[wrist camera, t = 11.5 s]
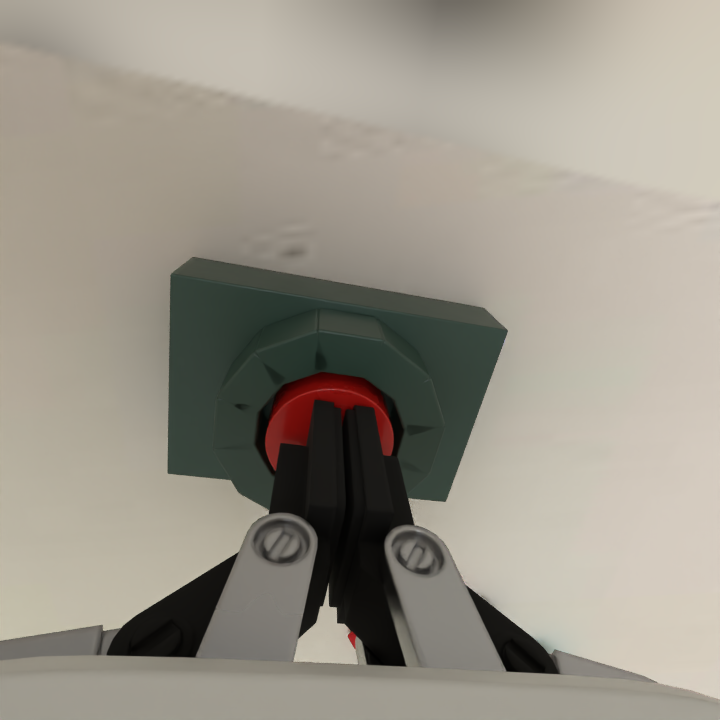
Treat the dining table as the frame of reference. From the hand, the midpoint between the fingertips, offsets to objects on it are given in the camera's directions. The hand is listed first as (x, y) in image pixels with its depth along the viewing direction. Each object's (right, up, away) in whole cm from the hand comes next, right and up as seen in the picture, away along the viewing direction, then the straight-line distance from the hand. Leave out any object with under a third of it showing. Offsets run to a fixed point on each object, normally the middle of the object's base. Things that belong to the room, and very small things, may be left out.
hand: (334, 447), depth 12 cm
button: (0, +1, +2) cm, 2 cm away
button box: (0, +2, +4) cm, 4 cm away
